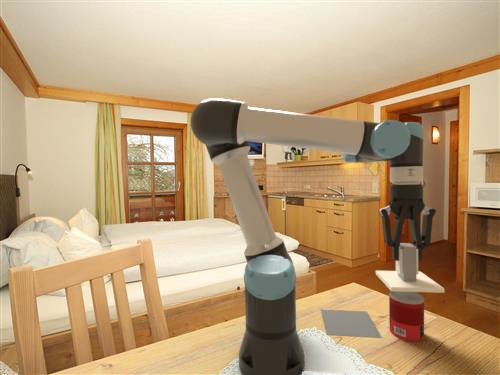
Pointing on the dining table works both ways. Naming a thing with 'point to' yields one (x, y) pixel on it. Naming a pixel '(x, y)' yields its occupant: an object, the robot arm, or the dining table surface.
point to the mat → (349, 323)
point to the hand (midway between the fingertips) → (406, 272)
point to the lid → (409, 275)
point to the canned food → (406, 315)
